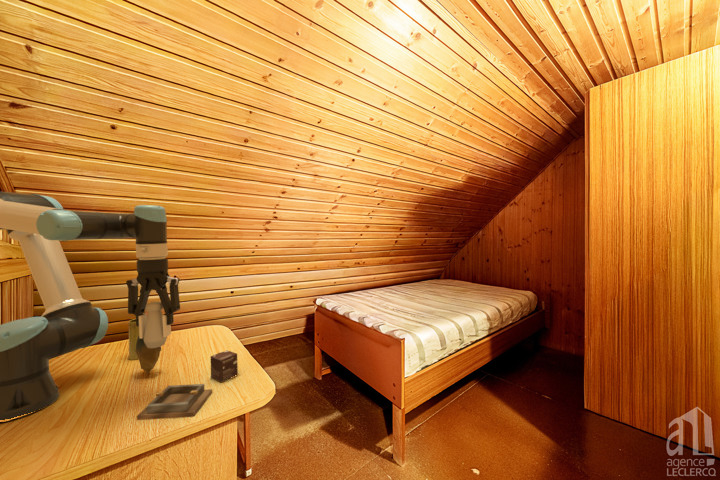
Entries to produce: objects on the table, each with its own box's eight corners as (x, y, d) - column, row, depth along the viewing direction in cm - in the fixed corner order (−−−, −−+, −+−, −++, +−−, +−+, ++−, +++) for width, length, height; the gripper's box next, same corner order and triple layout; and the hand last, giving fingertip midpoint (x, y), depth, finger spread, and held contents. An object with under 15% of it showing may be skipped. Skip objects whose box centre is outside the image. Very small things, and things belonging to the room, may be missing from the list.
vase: (151, 355, 112) (150, 319, 112) (132, 361, 107) (131, 323, 107) (144, 351, 115) (143, 316, 115) (125, 357, 110) (124, 320, 110)
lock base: (137, 419, 74) (136, 405, 74) (162, 395, 85) (162, 383, 85) (194, 416, 75) (193, 402, 75) (212, 392, 86) (211, 380, 86)
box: (221, 383, 91) (220, 360, 91) (210, 378, 95) (209, 356, 94) (238, 375, 97) (237, 353, 96) (227, 370, 100) (226, 349, 99)
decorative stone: (130, 375, 97) (129, 331, 96) (150, 367, 102) (148, 325, 102) (147, 381, 93) (146, 335, 92) (167, 373, 98) (166, 329, 98)
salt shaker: (155, 350, 82) (153, 305, 82) (138, 349, 83) (136, 304, 83) (172, 342, 88) (170, 300, 88) (156, 341, 89) (154, 299, 89)
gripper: (108, 260, 80) (111, 342, 81) (179, 258, 82) (182, 339, 83) (127, 257, 88) (130, 333, 88) (192, 256, 89) (194, 330, 90)
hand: (155, 336), depth 86 cm, fingers closed on salt shaker, 6 cm apart
